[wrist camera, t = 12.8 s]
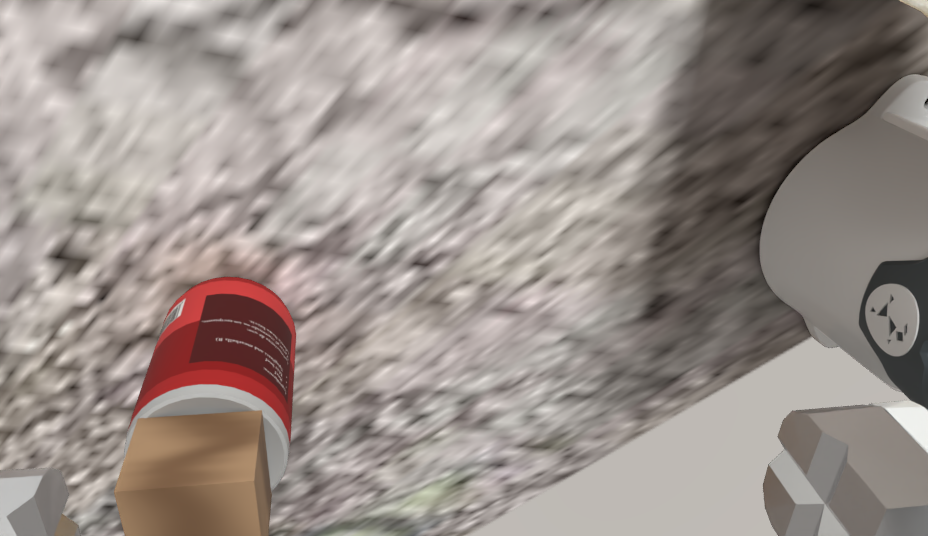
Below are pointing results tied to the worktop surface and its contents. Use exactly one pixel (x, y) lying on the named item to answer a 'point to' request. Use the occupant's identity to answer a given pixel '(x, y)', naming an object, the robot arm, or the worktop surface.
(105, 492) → the worktop surface
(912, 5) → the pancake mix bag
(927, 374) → the robot arm
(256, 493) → the walnut block
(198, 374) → the canned food
